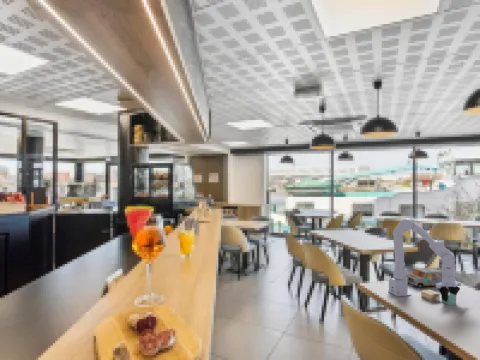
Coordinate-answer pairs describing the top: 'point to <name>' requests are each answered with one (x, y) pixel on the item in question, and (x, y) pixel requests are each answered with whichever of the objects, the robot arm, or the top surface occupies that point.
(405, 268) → the robot arm
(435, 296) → the beech block
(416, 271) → the toy car
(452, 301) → the teal block
